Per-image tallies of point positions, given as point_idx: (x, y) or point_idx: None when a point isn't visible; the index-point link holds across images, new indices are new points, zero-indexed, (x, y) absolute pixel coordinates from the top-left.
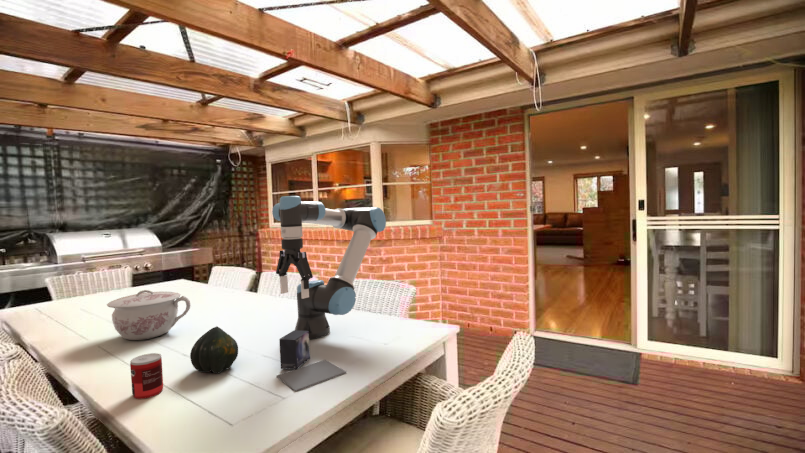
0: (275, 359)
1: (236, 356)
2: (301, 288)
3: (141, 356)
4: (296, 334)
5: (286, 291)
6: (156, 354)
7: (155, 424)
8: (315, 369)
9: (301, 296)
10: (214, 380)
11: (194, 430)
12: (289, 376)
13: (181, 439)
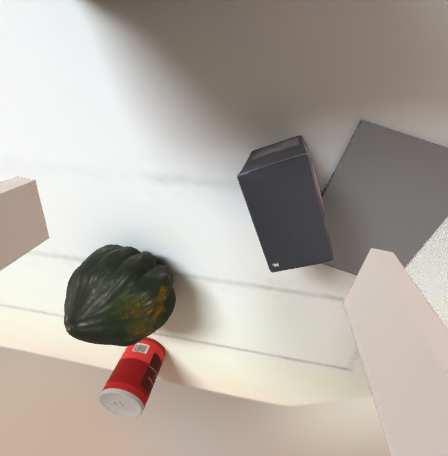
0: (205, 183)
1: (152, 260)
2: (382, 398)
3: (103, 400)
4: (297, 219)
5: (28, 200)
6: (114, 393)
7: (246, 385)
8: (373, 192)
9: (348, 316)
10: (189, 299)
11: (307, 384)
12: None
13: (309, 395)
